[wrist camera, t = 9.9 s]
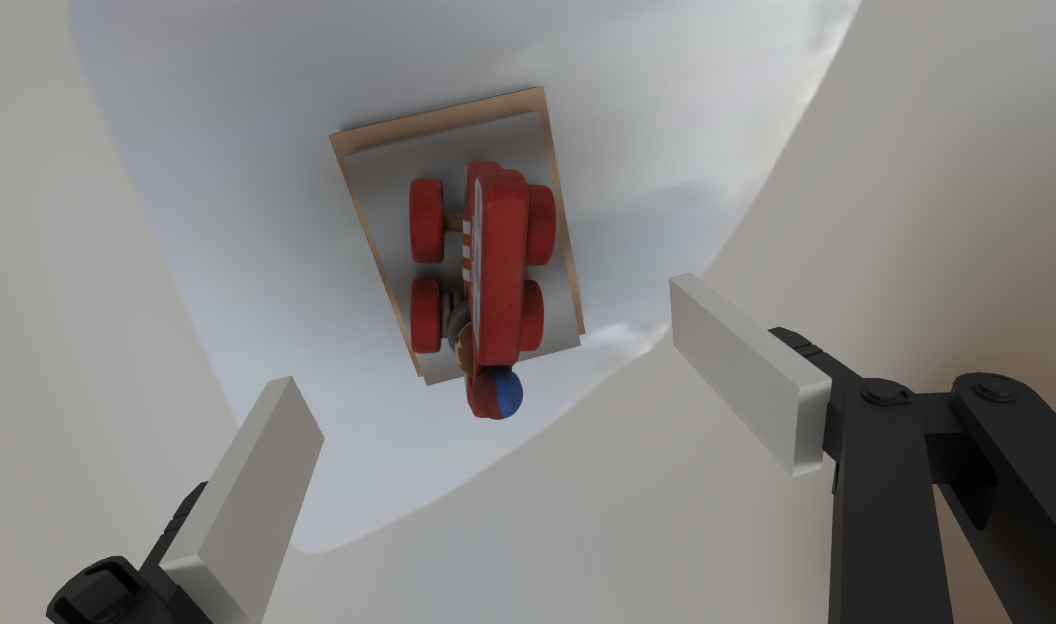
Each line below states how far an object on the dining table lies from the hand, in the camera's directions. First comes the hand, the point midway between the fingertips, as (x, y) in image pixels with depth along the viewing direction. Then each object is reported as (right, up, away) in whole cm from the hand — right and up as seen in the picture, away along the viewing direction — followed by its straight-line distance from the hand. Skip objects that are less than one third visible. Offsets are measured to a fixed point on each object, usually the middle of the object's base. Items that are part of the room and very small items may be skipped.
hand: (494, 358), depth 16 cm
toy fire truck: (-2, +4, +10) cm, 12 cm away
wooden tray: (-3, +7, +16) cm, 17 cm away
